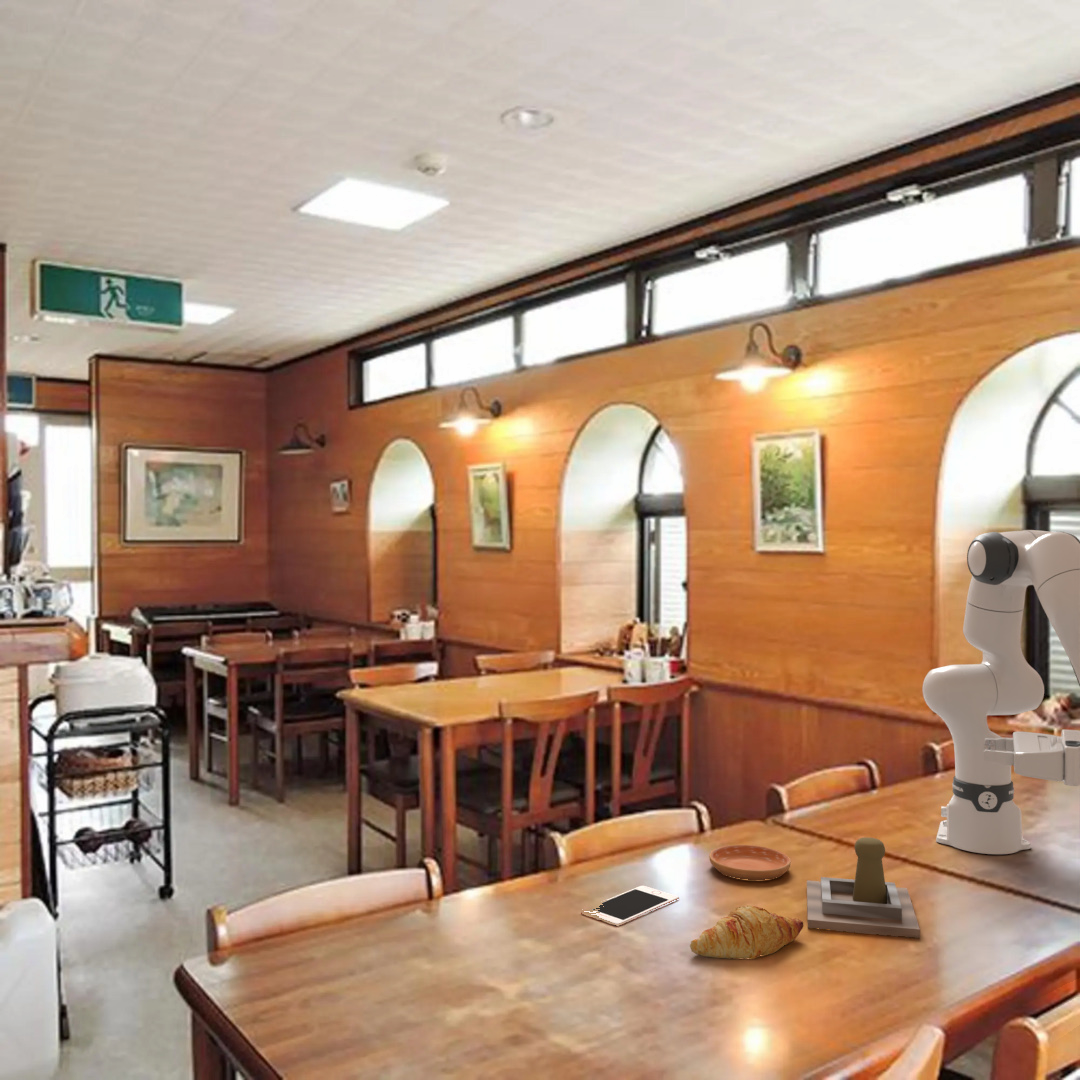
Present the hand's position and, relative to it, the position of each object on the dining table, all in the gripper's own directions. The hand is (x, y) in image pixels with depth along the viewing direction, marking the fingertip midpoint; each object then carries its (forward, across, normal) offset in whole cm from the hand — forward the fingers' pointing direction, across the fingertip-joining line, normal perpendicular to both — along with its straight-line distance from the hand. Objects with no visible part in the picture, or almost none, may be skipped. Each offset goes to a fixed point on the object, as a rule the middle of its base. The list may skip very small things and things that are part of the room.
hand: (984, 749), depth 177 cm
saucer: (+43, -8, +30) cm, 53 cm away
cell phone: (+58, +20, +30) cm, 69 cm away
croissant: (+35, +29, +30) cm, 55 cm away
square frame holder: (+20, +6, +30) cm, 36 cm away
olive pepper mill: (+19, +4, +28) cm, 34 cm away
